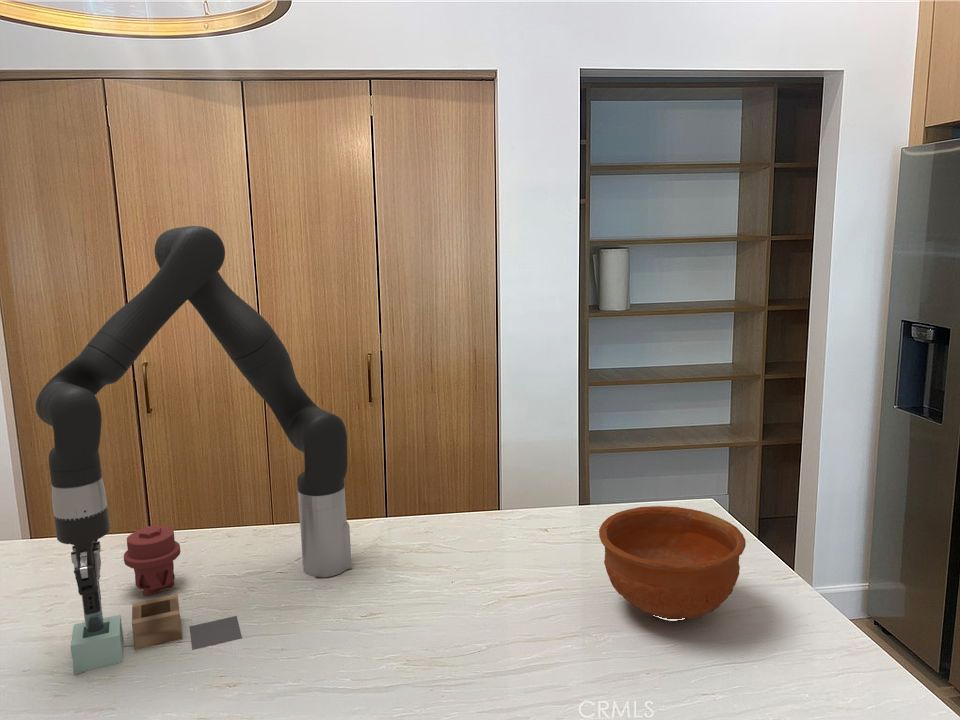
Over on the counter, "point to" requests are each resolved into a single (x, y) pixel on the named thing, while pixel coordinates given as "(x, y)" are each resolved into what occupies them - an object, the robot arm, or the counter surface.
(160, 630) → the wooden square frame
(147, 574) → the mechanical component
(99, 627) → the cylinder
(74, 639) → the teal block
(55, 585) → the counter surface
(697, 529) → the bowl
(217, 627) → the mat
